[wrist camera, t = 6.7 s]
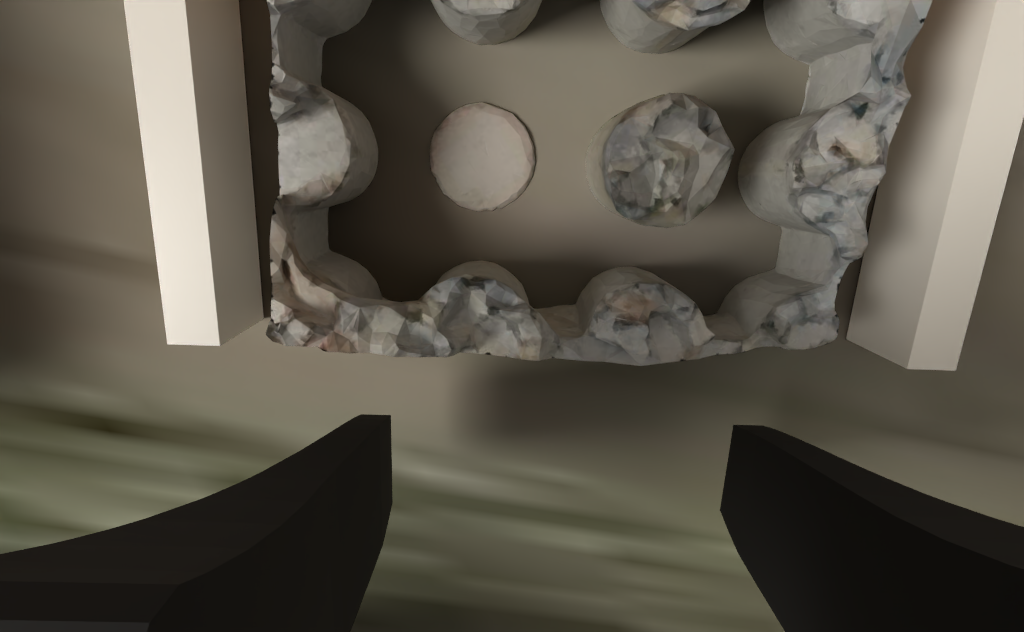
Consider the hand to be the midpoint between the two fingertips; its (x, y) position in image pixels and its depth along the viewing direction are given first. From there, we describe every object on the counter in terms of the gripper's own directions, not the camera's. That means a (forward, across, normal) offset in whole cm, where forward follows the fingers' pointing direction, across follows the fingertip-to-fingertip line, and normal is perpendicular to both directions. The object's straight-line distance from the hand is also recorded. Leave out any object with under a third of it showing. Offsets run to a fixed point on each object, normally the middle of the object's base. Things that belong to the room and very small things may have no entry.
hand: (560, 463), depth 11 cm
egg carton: (+2, 0, -6) cm, 7 cm away
